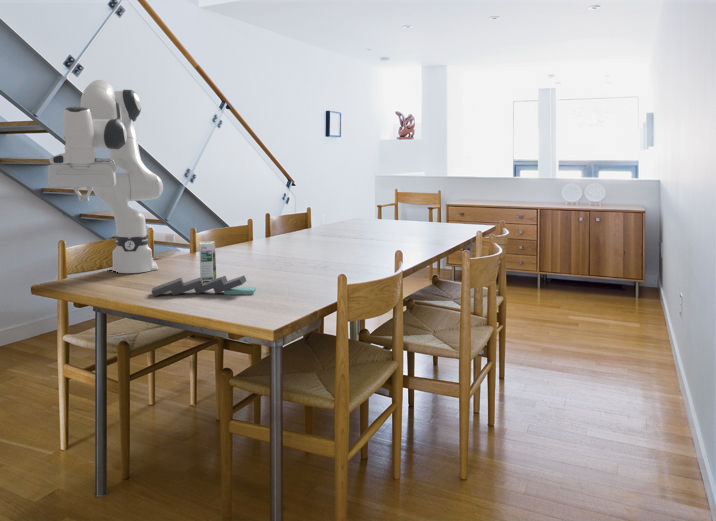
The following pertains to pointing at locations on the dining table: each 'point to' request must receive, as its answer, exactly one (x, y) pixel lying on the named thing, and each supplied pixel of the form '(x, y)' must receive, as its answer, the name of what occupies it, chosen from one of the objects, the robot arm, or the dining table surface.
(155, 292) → the domino
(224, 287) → the domino
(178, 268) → the dining table surface
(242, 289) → the domino
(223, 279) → the domino
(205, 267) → the syrup box
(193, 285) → the domino
